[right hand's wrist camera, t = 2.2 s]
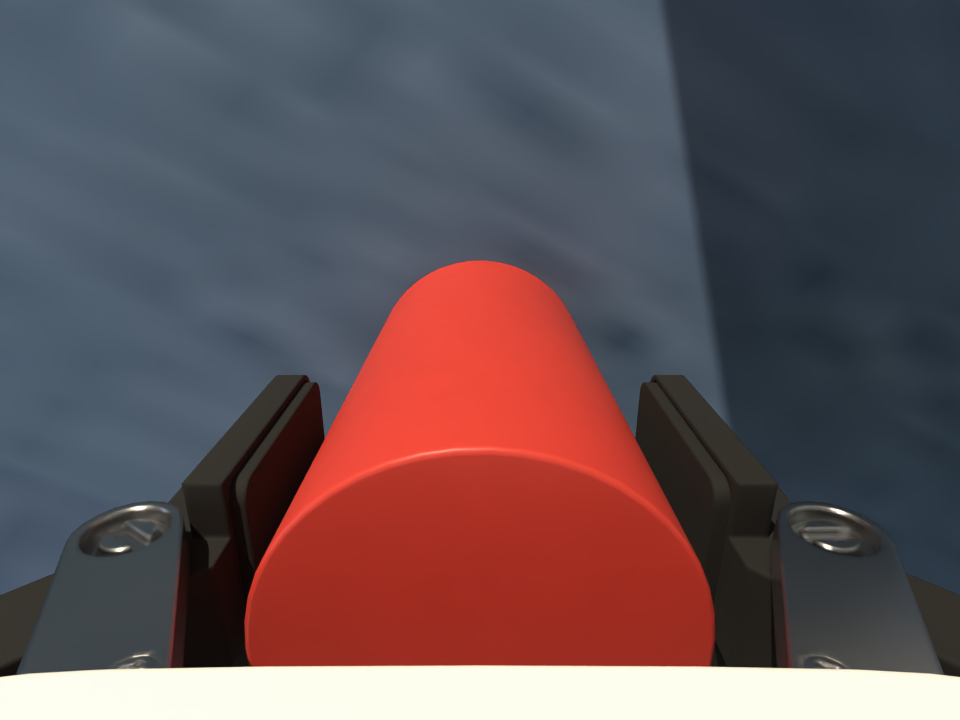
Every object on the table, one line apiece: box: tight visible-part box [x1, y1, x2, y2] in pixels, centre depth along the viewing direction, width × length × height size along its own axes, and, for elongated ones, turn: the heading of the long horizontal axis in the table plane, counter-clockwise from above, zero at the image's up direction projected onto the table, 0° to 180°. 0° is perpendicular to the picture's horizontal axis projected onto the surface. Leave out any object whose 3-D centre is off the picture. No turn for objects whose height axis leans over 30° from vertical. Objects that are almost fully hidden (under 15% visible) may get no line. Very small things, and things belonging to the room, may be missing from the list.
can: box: [245, 261, 715, 667], centre depth 12 cm, size 5×5×10 cm
